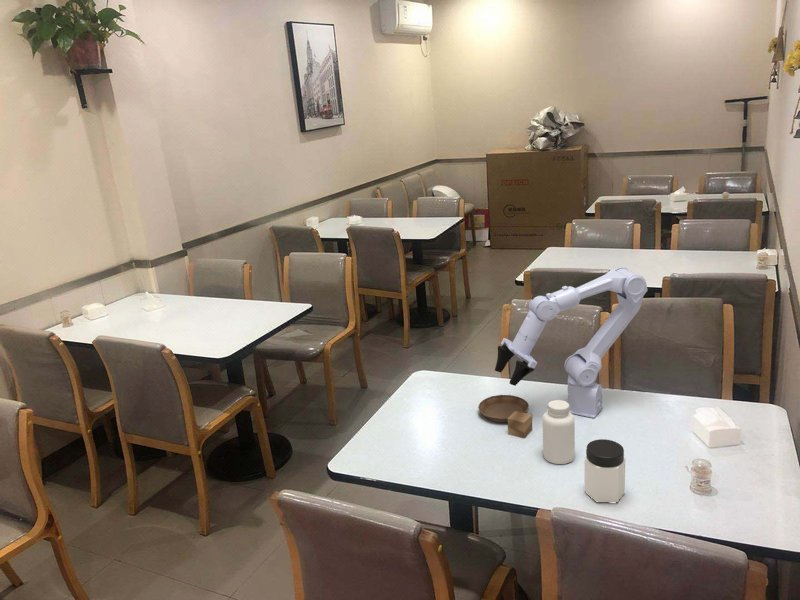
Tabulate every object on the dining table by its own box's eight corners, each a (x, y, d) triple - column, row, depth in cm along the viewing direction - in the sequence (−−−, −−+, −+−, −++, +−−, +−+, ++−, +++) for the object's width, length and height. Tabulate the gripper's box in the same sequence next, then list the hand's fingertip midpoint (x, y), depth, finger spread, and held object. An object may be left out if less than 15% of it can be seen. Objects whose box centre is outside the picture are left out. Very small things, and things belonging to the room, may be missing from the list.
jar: (595, 478, 153) (595, 434, 149) (628, 489, 147) (630, 444, 144) (579, 497, 146) (579, 451, 143) (613, 509, 141) (614, 462, 137)
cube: (532, 430, 177) (531, 414, 175) (524, 438, 173) (524, 422, 172) (515, 426, 180) (515, 410, 178) (508, 434, 176) (507, 418, 174)
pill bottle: (575, 450, 165) (575, 398, 161) (573, 466, 158) (573, 413, 154) (544, 447, 168) (544, 396, 163) (541, 463, 161) (540, 410, 156)
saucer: (472, 422, 184) (472, 414, 183) (486, 400, 197) (486, 392, 196) (522, 429, 178) (522, 420, 177) (533, 405, 191) (533, 397, 190)
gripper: (503, 321, 181) (481, 362, 183) (532, 344, 169) (509, 387, 171) (520, 327, 184) (499, 367, 187) (550, 350, 172) (527, 392, 175)
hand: (504, 377), depth 180 cm, fingers open, 7 cm apart
